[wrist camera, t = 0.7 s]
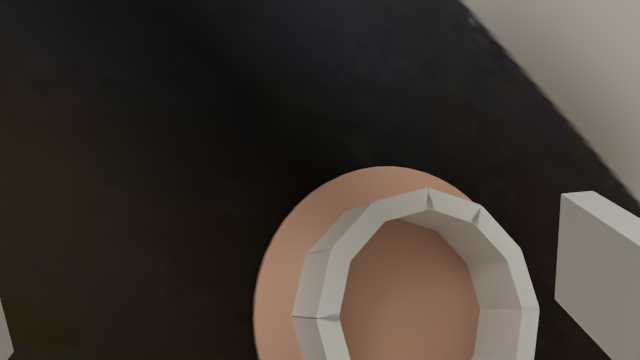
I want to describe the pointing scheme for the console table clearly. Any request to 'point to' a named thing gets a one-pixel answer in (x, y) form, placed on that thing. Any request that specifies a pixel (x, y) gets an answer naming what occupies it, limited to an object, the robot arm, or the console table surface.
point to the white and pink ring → (392, 276)
